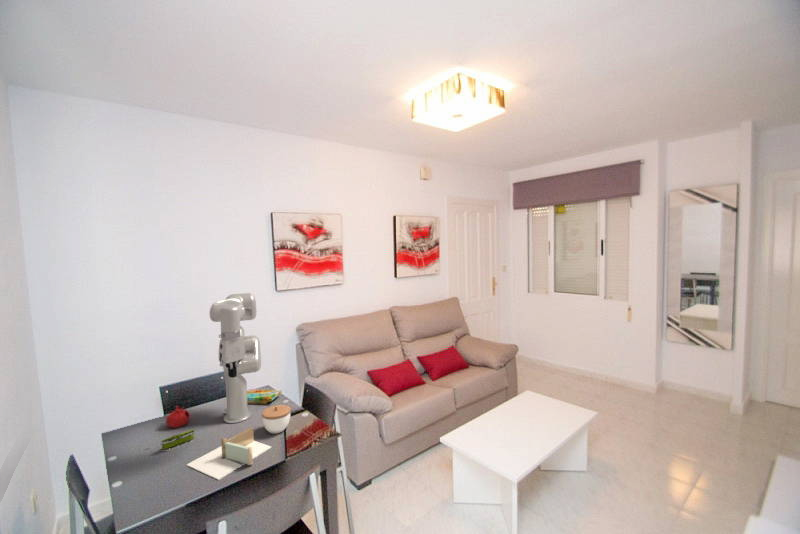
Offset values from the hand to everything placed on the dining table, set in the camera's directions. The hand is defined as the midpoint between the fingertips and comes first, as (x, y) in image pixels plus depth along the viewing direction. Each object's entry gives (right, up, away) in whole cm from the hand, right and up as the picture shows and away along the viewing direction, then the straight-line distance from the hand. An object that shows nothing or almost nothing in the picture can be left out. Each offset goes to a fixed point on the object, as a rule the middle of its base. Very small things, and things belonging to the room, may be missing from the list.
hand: (232, 376), depth 153 cm
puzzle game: (-6, -28, +46) cm, 54 cm away
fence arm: (+10, -29, -14) cm, 33 cm away
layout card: (+4, -29, -10) cm, 31 cm away
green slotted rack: (-26, -30, -2) cm, 40 cm away
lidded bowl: (+15, -29, +11) cm, 34 cm away
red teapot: (-35, -30, +18) cm, 50 cm away
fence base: (+5, -29, -6) cm, 30 cm away
